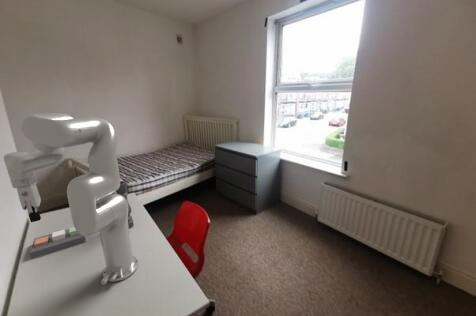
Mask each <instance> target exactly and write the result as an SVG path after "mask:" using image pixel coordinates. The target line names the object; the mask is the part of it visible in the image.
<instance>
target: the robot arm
mask: <svg viewBox="0 0 476 316" xmlns="http://www.w3.org/2000/svg"><path fill="white" fill-rule="evenodd" d="M20 131H21V133H22V135H23V136H24V137H25V139H27V140H29V141H31V144H32V146H33V147H34V148H35V149H37V150H36V151H32V152H27V151H14V152H8V153H6V154H4V156H3V161H4V165H5V167H6V168H5V169H6V170H7V173H8V177H9V180H10V184H11V186H12V188H13V189H16V191H17V195H18V200H19V202H20V206H21V208H22V210H24V211H27V215H28V219H29V222H31V223H34V222H38V221H40V220H41V219H42V216H41V214H40V210H39V209H38V208H39V207H40V205H41V202H42V199H41V198H42V197H41V195H40V192H39V189H38V187H37V184H38V180H37V176H36V172H38V171H40V170H45V169H49V168H53V167H54V166H56V165H58V164H59V163H60V162H61V161H62V160H63V159H64V157H65V148H71V147H77V146H80V145H85V144H90V143H91V144H92V146H91V147H90V149H89V152H88V156H87V163H88V169H89V170H88V172H86V173H84V174H81V175H78V176H77V177H74V178H73V179H71V180H70V181H69V183H68V184H67V187H66V194H67V195H66V197H67V201H68V205H69V211H70V216H71V220H72V224H73V227H75V229H76V230H77V232H78V233H79V234H81V235H83V236H85V237H91V236H93V235H96V234H97V233H99V238H100V242H101V247H102V248H101V249H102V253H103V259H104V263H105V267H104V268H103V271H102V277H103V278H102V279H101V281H100V284H101V285H105V286H106V284H107V283H108V282H111V283H112V282H114V283H115V282H119V281H122V280H125V279H127V278H129V277H131V275H133V274H134V273H135V272H136V270H138V268H139V260H138V258H137V257H135V256H134V252H133V248H132V247H133V246H132V242H131V235H130V229H129V226H128V203H129V201H128V199H127V200H126V199H125V197H123V196H122V195H119V194H117V193H116V191H117V190H118V189H119V187H120V181H121V176H120V168H119V162H118V156H117V155H118V154H117V152H118V151H117V147H118V145H117V144H118V139H117V138H118V137H117V133H116V130H115V128H114V127H113V125H112V124H111V123H110V122H109V121H108V120H106V119H104V118H101V117H97V116H96V117H95V116H90V117H89V116H88V117H77V118H76V117H75V118H74V117H73V116H71V115H70V114H68V113H62V112H51V113H49V112H48V113H34V114H29V115H27V116H26V117H24V118H23V119H22V121H21V123H20ZM127 201H128V202H127Z"/></svg>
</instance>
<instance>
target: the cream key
mask: <svg viewBox="0 0 476 316" xmlns="http://www.w3.org/2000/svg"><path fill="white" fill-rule="evenodd" d="M65 230H66V229H60V230H58V231H53V232H52V233H51V234H52V239H53V242H55V241H58V240H62V239H65V238H66V233H65Z"/></svg>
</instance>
